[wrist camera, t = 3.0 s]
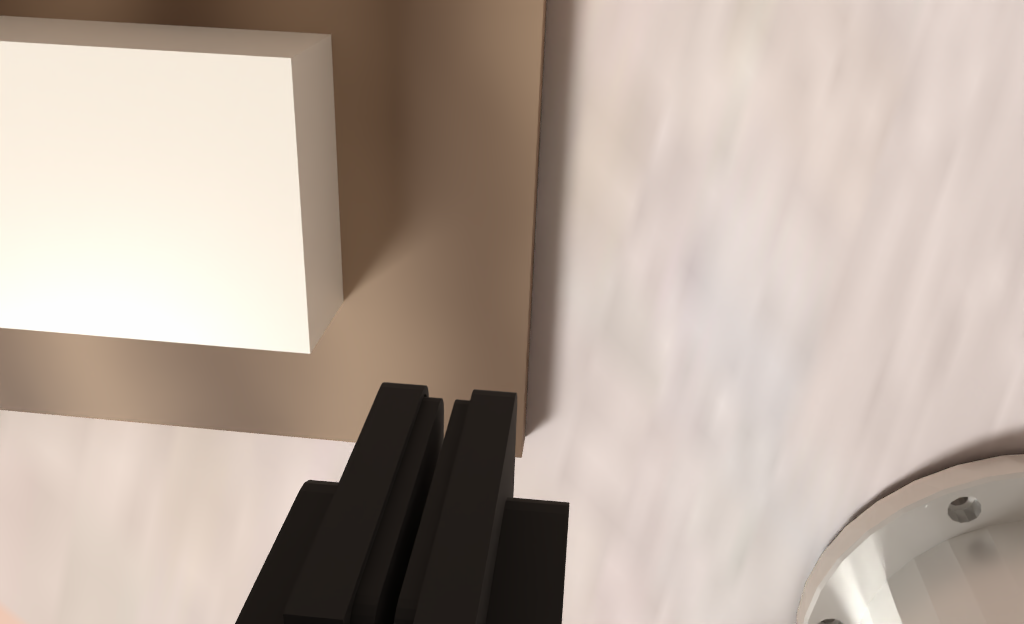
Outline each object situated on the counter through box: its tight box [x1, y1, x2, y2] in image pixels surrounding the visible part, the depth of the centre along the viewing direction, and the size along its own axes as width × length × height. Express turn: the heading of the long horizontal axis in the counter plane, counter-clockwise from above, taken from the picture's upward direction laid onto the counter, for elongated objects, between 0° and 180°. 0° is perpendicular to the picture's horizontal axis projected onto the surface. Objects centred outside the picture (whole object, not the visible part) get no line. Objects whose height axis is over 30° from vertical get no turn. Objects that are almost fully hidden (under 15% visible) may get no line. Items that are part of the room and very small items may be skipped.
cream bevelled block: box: [0, 16, 343, 354], centre depth 23 cm, size 16×7×3 cm, turn 88°
